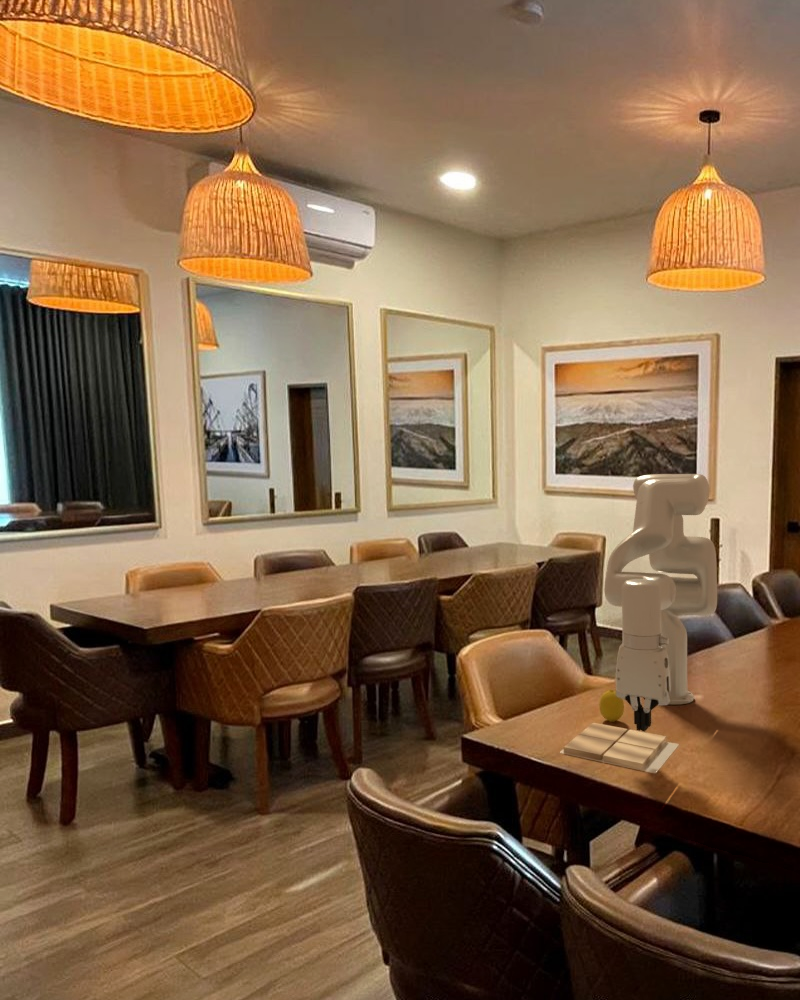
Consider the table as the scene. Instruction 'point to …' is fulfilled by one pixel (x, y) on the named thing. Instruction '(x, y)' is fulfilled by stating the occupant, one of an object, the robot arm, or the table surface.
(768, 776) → the table surface
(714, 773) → the table surface
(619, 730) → the row
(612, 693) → the lemon
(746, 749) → the table surface
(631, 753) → the plank near
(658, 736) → the plank far
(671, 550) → the robot arm
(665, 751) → the underlay mat
